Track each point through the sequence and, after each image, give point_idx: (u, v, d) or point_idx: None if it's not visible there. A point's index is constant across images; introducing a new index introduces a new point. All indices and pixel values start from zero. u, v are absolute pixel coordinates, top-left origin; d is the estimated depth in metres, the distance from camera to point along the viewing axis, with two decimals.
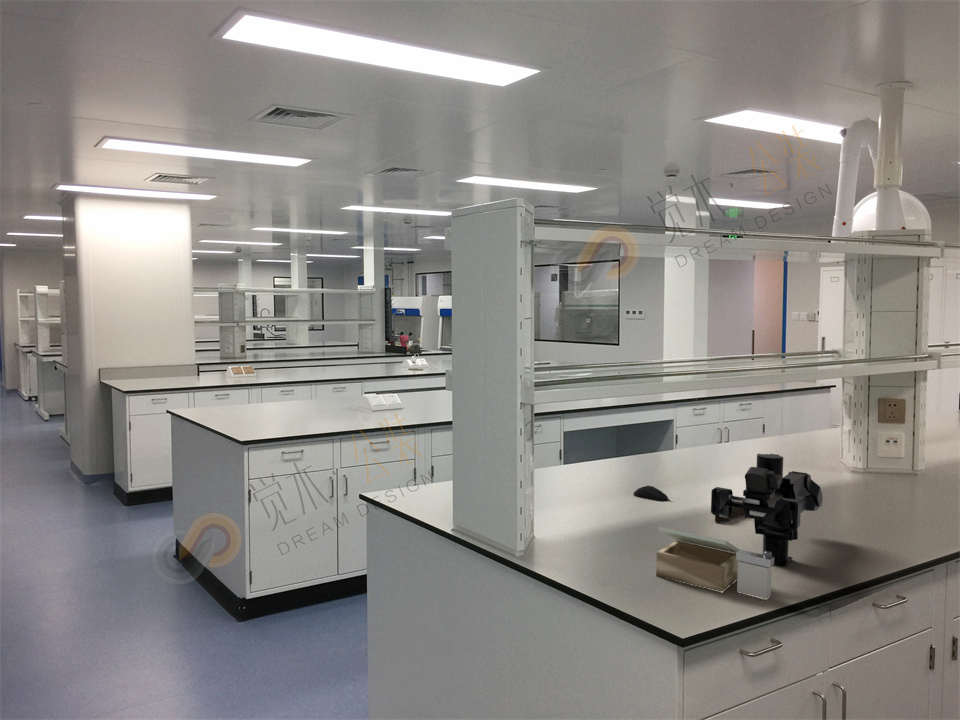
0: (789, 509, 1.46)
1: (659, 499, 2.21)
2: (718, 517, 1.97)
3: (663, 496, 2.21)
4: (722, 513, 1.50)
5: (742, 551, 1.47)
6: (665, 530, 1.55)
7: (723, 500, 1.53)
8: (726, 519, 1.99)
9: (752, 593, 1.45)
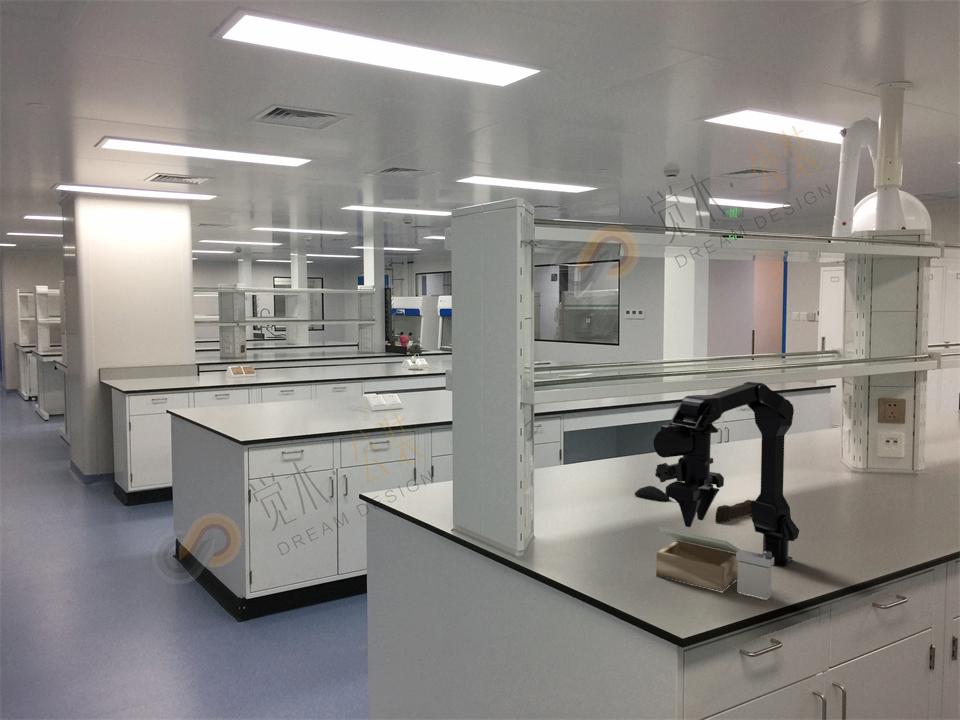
0: (676, 499, 1.48)
1: (660, 499, 2.20)
2: (718, 517, 1.97)
3: (664, 496, 2.21)
4: (702, 515, 1.55)
5: (742, 551, 1.47)
6: (665, 530, 1.55)
7: None
8: (726, 519, 1.99)
9: (752, 593, 1.45)
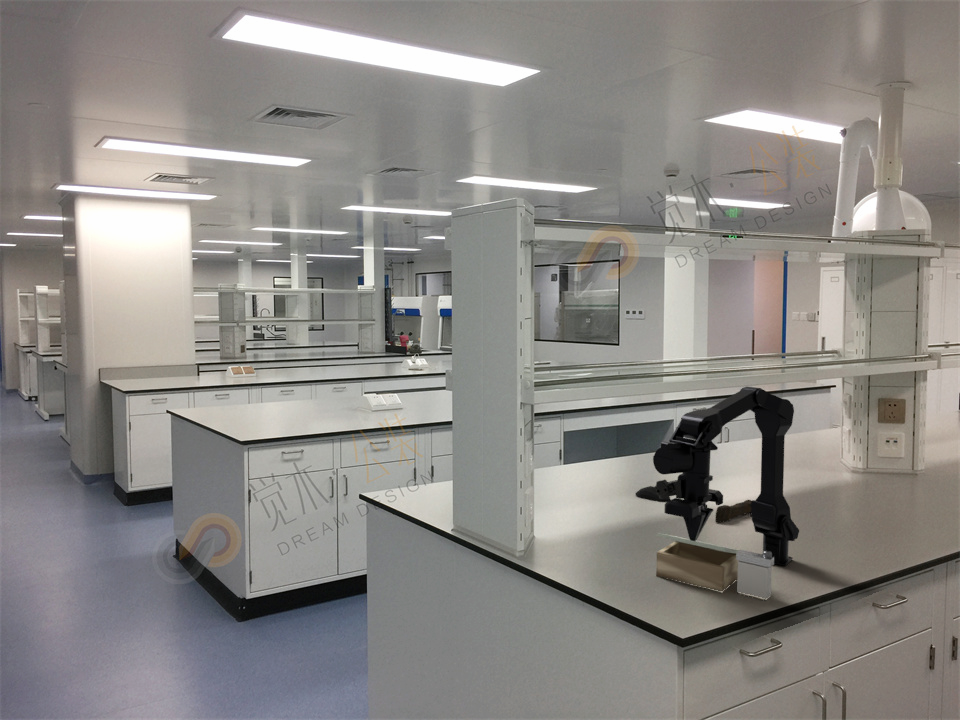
0: None
1: (661, 500, 2.20)
2: (719, 517, 1.97)
3: (665, 497, 2.21)
4: None
5: (742, 551, 1.47)
6: (664, 537, 1.55)
7: None
8: (726, 519, 1.99)
9: (752, 593, 1.45)
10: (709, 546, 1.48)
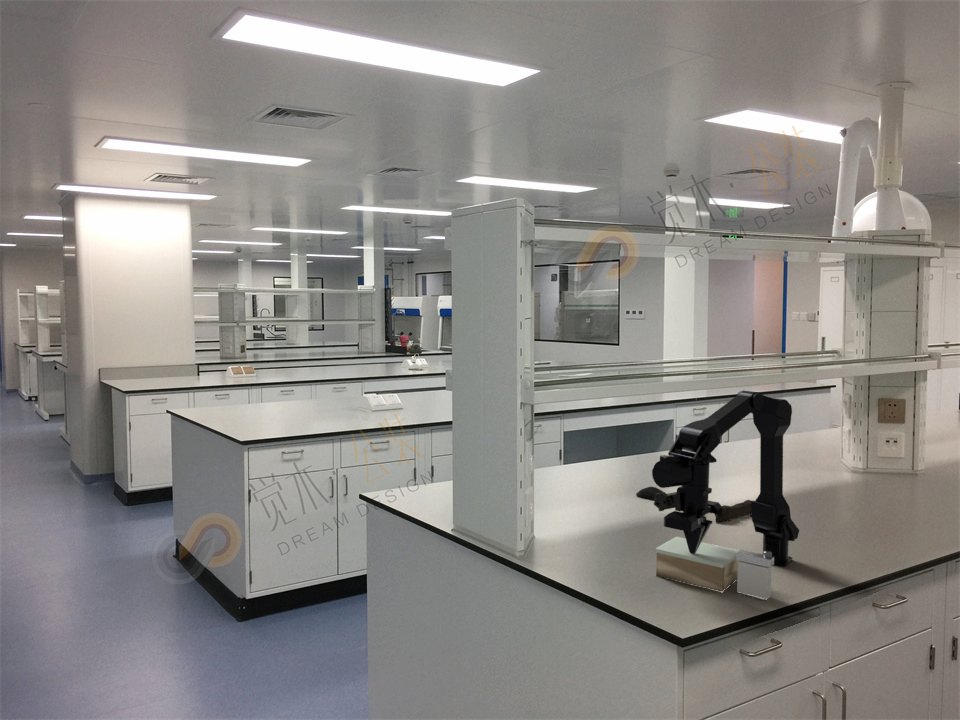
0: None
1: None
2: (719, 517, 1.97)
3: None
4: None
5: (742, 551, 1.47)
6: (662, 552, 1.55)
7: None
8: (727, 519, 1.99)
9: (752, 593, 1.45)
10: (707, 562, 1.48)
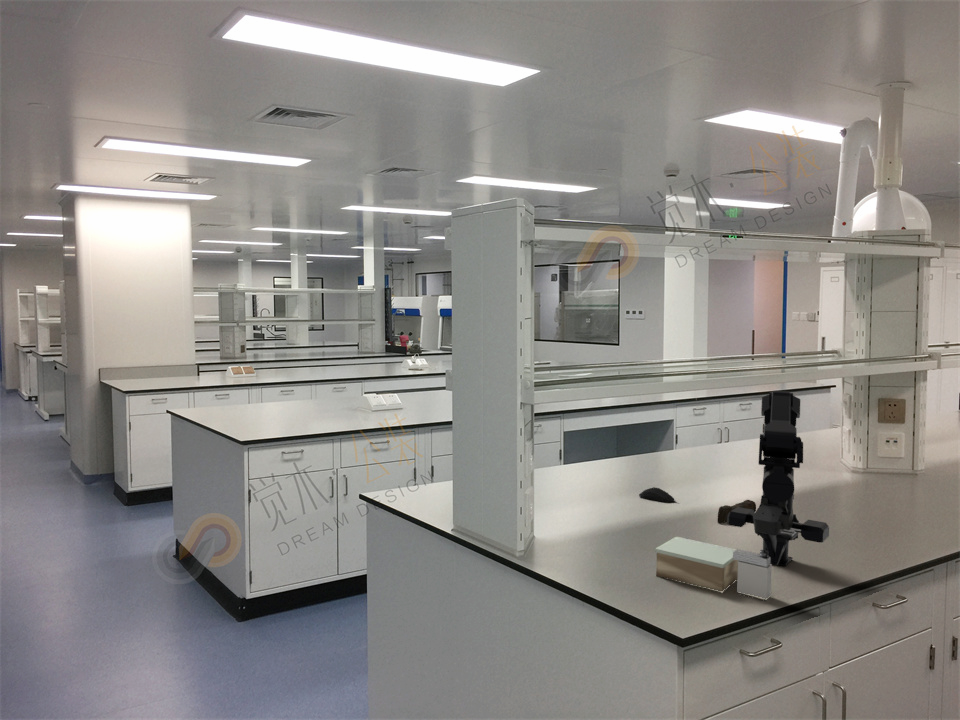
0: None
1: (666, 501, 2.19)
2: (721, 518, 1.97)
3: (670, 498, 2.19)
4: None
5: (739, 550, 1.48)
6: (662, 552, 1.55)
7: (769, 543, 1.42)
8: None
9: (752, 593, 1.45)
10: (707, 562, 1.48)
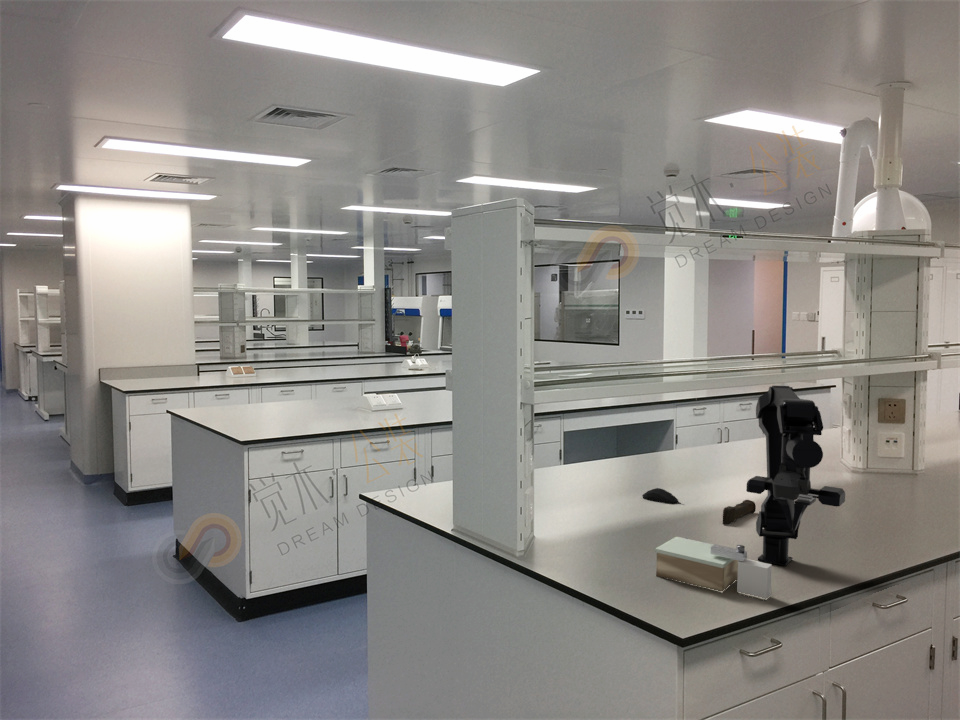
0: None
1: (669, 502, 2.17)
2: (726, 519, 1.96)
3: (673, 499, 2.18)
4: None
5: (716, 545, 1.51)
6: (662, 552, 1.55)
7: (786, 509, 1.48)
8: (732, 520, 1.98)
9: (752, 593, 1.45)
10: (707, 562, 1.48)
